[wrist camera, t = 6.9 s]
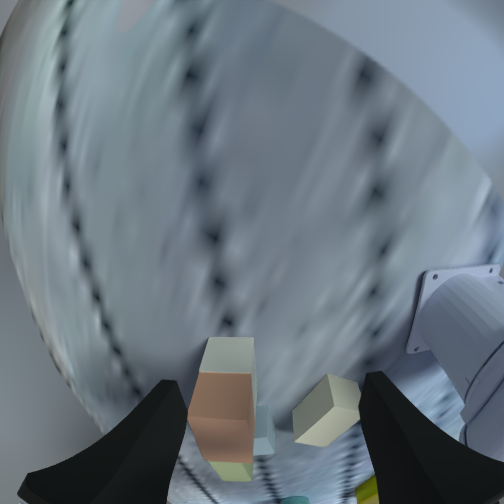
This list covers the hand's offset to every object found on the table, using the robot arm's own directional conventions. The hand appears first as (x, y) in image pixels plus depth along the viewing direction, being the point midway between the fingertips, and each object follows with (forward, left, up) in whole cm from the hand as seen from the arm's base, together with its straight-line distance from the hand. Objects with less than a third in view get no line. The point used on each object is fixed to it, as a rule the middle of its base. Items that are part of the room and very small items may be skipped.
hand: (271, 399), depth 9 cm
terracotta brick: (+3, +8, -6) cm, 11 cm away
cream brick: (-5, +13, -10) cm, 17 cm away
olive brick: (+5, +22, -10) cm, 25 cm away
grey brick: (+3, +8, -10) cm, 13 cm away
